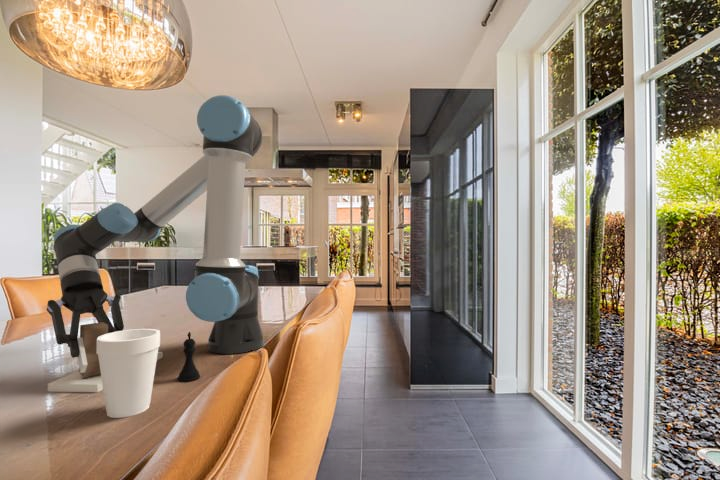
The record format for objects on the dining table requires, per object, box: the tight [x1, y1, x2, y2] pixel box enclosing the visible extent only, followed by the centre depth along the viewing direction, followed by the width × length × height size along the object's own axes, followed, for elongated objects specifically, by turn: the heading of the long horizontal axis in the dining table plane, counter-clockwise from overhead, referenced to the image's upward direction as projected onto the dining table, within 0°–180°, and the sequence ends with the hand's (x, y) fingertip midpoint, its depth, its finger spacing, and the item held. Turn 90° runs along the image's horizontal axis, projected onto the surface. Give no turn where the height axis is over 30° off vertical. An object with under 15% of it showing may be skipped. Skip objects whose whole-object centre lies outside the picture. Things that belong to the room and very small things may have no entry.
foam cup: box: [96, 328, 161, 419], centre depth 63 cm, size 10×9×13 cm
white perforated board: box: [47, 351, 164, 393], centre depth 82 cm, size 10×22×2 cm, turn 178°
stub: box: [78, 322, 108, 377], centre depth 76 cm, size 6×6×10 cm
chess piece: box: [177, 331, 201, 383], centre depth 78 cm, size 4×4×10 cm
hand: (98, 365), depth 74 cm, fingers closed on stub, 4 cm apart
